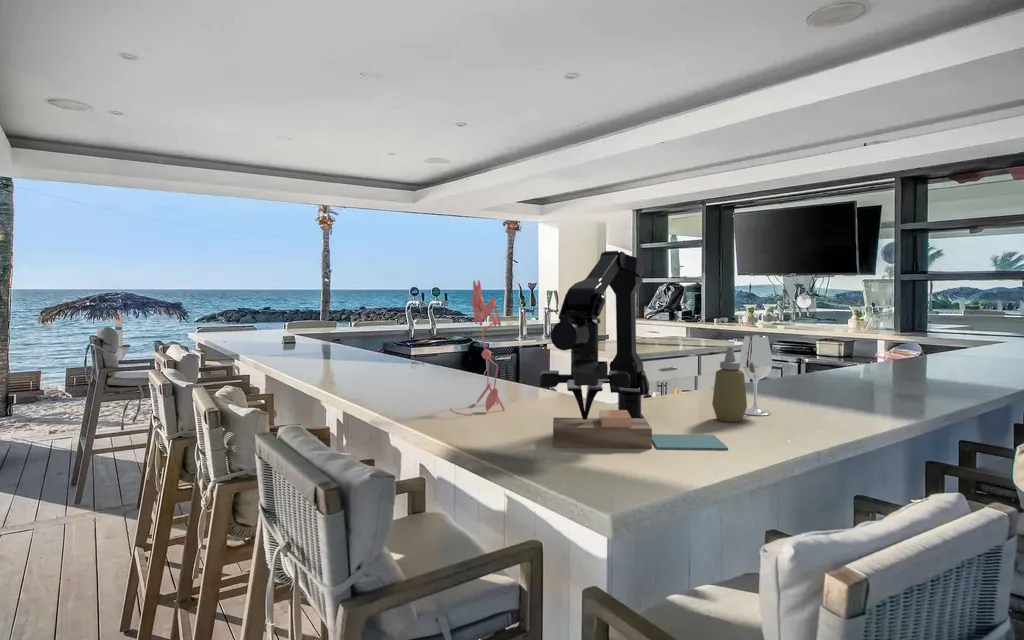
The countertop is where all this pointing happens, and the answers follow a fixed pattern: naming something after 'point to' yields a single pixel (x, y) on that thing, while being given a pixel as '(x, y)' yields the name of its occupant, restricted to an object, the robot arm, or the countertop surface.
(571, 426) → the platform
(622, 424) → the tile
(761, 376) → the wineglass
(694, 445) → the mat
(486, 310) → the figurine
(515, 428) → the countertop surface
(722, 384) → the squeeze bottle
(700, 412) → the countertop surface
